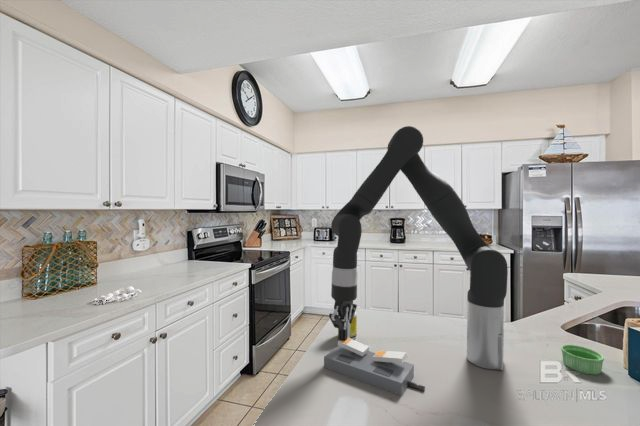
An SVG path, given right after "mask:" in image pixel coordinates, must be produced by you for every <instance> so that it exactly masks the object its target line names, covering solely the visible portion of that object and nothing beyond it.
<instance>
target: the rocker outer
mask: <svg viewBox="0 0 640 426" xmlns="http://www.w3.org/2000/svg"><path fill="white" fill-rule="evenodd" d="M337 346H341V347H343V348H345V349H347V350H350V351H352V352H354V353H356V354H358V355H360V356H363V355H364V354H365V353H367V352H368V351H370V346H369V345H366V344H364V343H362V342H359V341H356V340H355V339H350V338H348V337H347V340H346V341H344V340H339V339H338V341H337Z"/></svg>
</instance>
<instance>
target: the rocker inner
mask: <svg viewBox="0 0 640 426" xmlns="http://www.w3.org/2000/svg"><path fill="white" fill-rule="evenodd" d="M375 353H376V354H375V355H374V356H373V360H374V361H379V362H390V363H402V364H403V362H406V360H407V358H408V353H407V352H406V351H396V350H395V351H394V350H393V351H392V350H378V351H377V352H375Z"/></svg>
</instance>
